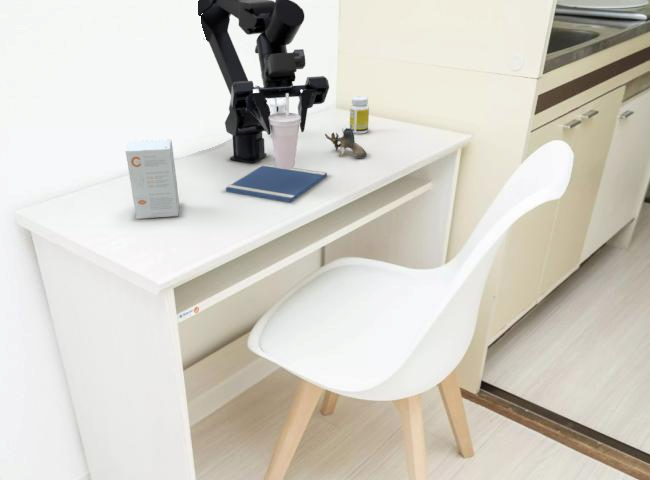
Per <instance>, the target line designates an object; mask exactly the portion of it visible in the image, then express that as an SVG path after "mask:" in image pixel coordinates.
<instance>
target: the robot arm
mask: <svg viewBox="0 0 650 480" xmlns="http://www.w3.org/2000/svg"><path fill="white" fill-rule="evenodd" d="M202 13H203V14H202ZM201 14H202V15H201ZM198 15H199V16H201V24H202V28H203V31H204V34H205V37H206V40H207V41H206V40H205V41H206V42H208V44H209V46H210V48H211V51H212V53H213V56H214V58H215V61H216V63H217V65H218V69H219V71H220V73H221V76H222V78H223V80H224V82H225V85H226V87H227V90H228V92H229V94H230V101H229V106H228V111H229V113H228V115H227V117H226V119H225V121H224V126H225V131H226V133H228V134H229V135H231V136H232V137H231V138H232V150H233V151H232V152H233V155H232V156H230V157H229V160H230V161H236V162H242V163H248V164H249V163H250V164H254V163H256V162H258V161H260V160H261V159H263V158H265V157H266V156H267V153H266V152H265V138H264V137H263V132H266V134H267V135H270V136H271V127H270V123H269V119H268V117H269V116H270V115H271V108H270V105H269V104H268V100H269V99H274V98H276V99H280V98H282V99H284V98H286V93H289V98H296V97H298V100H299V101H298V104H297V114H298V115H300V116H301V123H300V124H299V130H300V132H301V133H304V132H305V127H306V121H307V115H308V109H311V108H313V107H314V105H321V104H323V103H325V101H326V98H327V95H328V93H329V89H330V83H329V80H328V78H327V77H326V76H325V75H322V76H307V77H306V80H305V83H304V84H299V85H294V83H293V82H295V81H296V72H297V71H298V70H303V69H304V68H305V67H306V55H305V50H304V49H303V48H302V49H293V51H292V52H288V49H287V45H290V44H291V43H292V42H293V41H294V39H295V37H296V36H297V34H298V31H299V30H300V28H301V27H302V24H303V23H304V20H305V11H304V9H303V8H302V7H301V6H300V5H299V4H297V3H296V2H295V1H292V0H275V1H274V0H199V1H198ZM231 15H232V16H233V17H235V18H236V19H237V20H238V26H239V28H240V29H241V30H242V31H243V32H244V33H245V34H246V35H248V36H251V35H257V38H256V41H255V43H256V46H255V48H254V53H255V54H257V55H258V61H259V67H260V73H261V75H260V76H261V80H262V85H263V87H261V86H260V85H254V82H253V80H249V79H248V77H247V74H246V72H245V69H244V67H243V64H242V62H241V60H240V57H239V55H238V53H237V49H236V48H235V46H234V42H233V41H232V38H231V36H230V33H229V25H230V20H231V18H230V17H231ZM258 34H259V35H258Z"/></svg>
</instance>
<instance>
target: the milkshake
mask: <svg viewBox="0 0 650 480" xmlns="http://www.w3.org/2000/svg"><path fill="white" fill-rule="evenodd" d="M269 108H270V112H271V113H270V115H272V114H276V113H286V98H285V99H284V98H272V99H271V100H270V102H269Z"/></svg>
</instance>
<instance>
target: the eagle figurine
mask: <svg viewBox="0 0 650 480" xmlns="http://www.w3.org/2000/svg"><path fill="white" fill-rule="evenodd" d="M341 130H342V137H340V135H339V134H338V132H336V133H335V132H332V133H331V134H330V136H329V135H328V134H327V133H324V136H325V138H326V139H327V140H329V141H330V142H332V144H333V145H334V148H335V151H338V150H339V148H340V154H339V157H342V156H343V155H344V154H345V152H346V149H350V150H351V151H352V152H353V153H354V155H355V157H356V158H357V159H363V160H364V159H366V157H367V156H368V154H367V152H366V150H365V149H364V148H363V147H362V146H361V145H360V144H358V143H357V142H356V140H355V139H356V138H355V133H353V131H352V129H351V128H350V127H349V128H348V127H345V129H344V128H342V129H341ZM339 142H340V143H339Z"/></svg>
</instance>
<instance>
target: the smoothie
mask: <svg viewBox="0 0 650 480" xmlns="http://www.w3.org/2000/svg"><path fill="white" fill-rule="evenodd" d="M285 100H286V113H276V114H272V115H271V114H270V116H269V117H268V119H269V123H270V130H271V133H270V135H271V141H272V147H273V155H274V162H275V165H276V167H277V168H280V169H290V168H295V164H296V156H297V146H298V139H299V130H300V123H301V116H300V115H299V114H298V113H294V112H290V97H289V93H286V97H285Z"/></svg>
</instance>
